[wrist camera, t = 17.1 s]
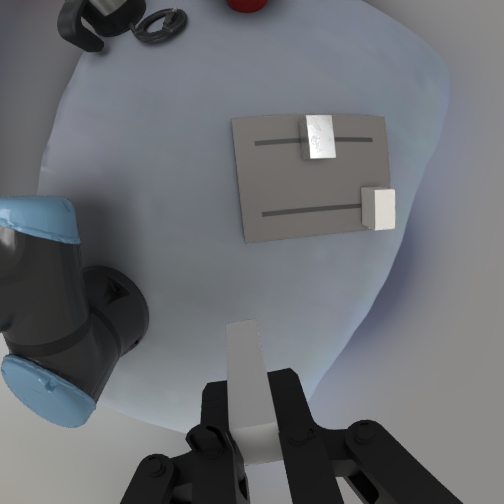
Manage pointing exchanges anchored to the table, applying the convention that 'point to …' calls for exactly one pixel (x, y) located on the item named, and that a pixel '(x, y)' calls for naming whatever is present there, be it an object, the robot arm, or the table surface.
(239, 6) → the plastic cup
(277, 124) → the slider panel
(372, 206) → the fader
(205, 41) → the table surface
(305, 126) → the fader
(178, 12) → the milk frother
